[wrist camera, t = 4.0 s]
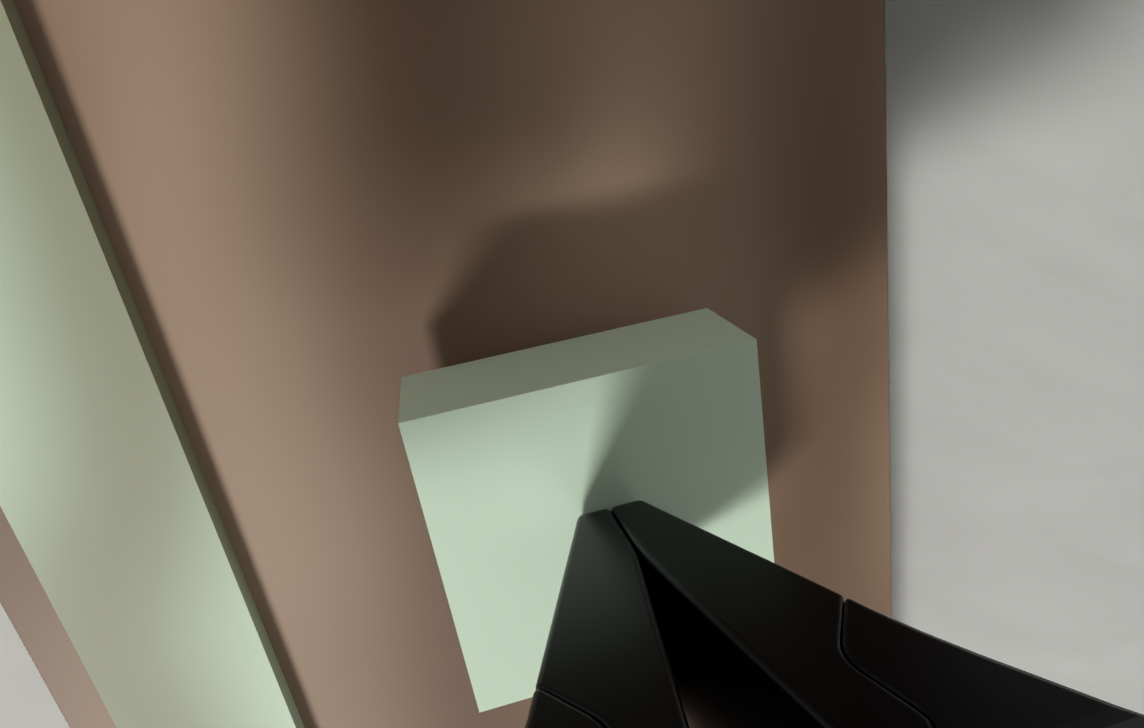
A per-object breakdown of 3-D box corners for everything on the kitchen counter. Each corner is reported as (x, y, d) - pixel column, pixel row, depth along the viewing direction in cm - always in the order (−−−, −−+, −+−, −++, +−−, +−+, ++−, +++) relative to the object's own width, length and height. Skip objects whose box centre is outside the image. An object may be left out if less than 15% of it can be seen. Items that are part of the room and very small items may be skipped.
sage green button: (707, 307, 10) (756, 339, 9) (733, 560, 12) (778, 624, 10) (401, 377, 10) (397, 423, 8) (472, 633, 11) (479, 712, 10)
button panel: (780, -683, 9) (894, -940, 7) (846, 839, 19) (902, 931, 16) (-515, -650, 7) (-920, -986, 5) (310, 1023, 17) (294, 1154, 15)
